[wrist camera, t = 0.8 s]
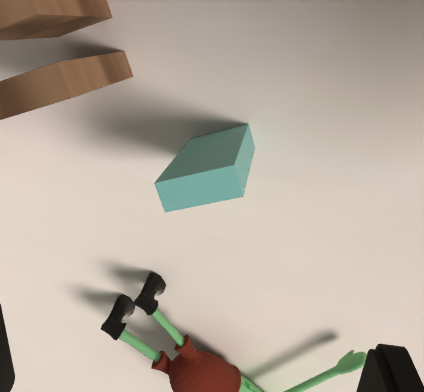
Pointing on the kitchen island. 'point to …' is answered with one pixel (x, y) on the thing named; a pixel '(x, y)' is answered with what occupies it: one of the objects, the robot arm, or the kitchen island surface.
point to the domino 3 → (208, 170)
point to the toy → (197, 351)
